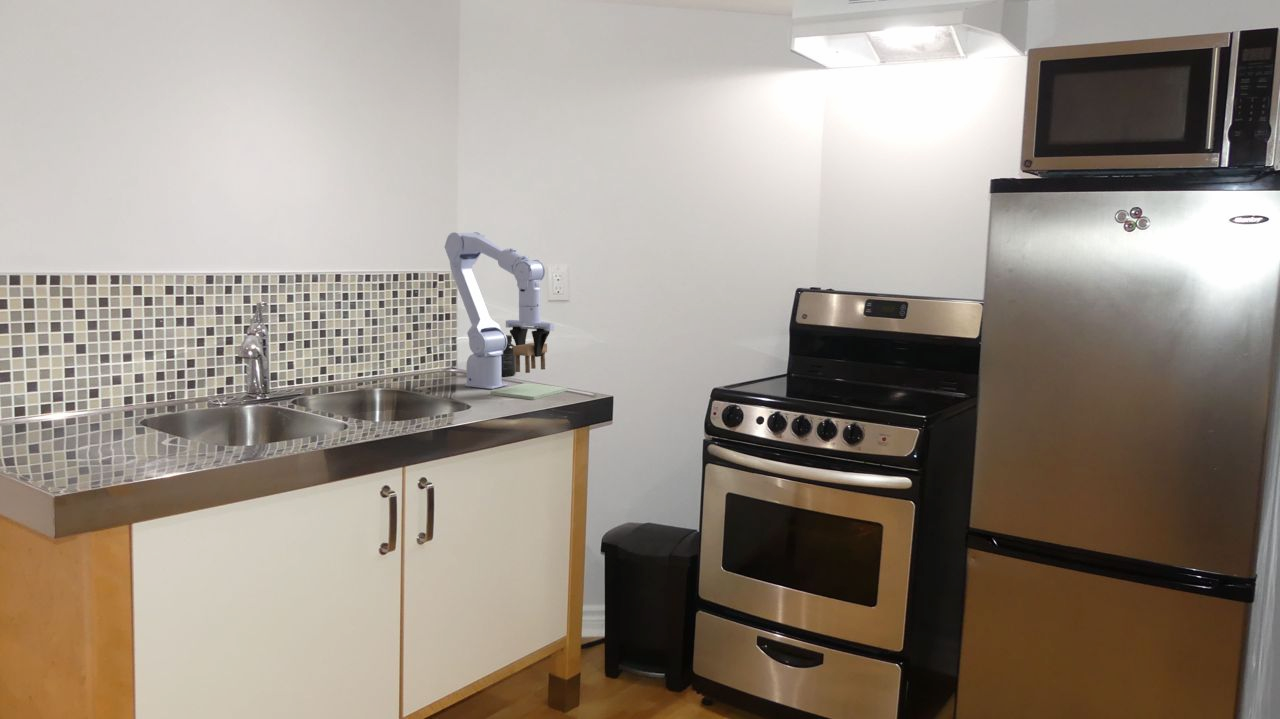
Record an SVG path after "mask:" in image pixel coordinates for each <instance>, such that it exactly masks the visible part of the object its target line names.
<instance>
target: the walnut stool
mask: <svg viewBox="0 0 1280 719" xmlns="http://www.w3.org/2000/svg"><path fill="white" fill-rule="evenodd" d="M546 353H548V343H546V342H545V343H544V346H543V350H542V354H541V356H540V370H546ZM513 355H515V362H516V373H520V372H521V357H523V356H524V361H525V362H524V363H525V364H524V366H525V369H524V370H525V373H526V374H529V373H531V369H537V368H536V365H537V364H536V357H535V354H534V342H529V343H525V344H522V345H516V344H515V345H514V346H513Z"/></svg>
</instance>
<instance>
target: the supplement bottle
mask: <svg viewBox="0 0 1280 719" xmlns="http://www.w3.org/2000/svg"><path fill="white" fill-rule="evenodd" d="M505 335H506V337H507V347H506V349H505V350H504V351H503V354H501V372H502V377H513V376H515V375H516V373H517V372H516V362H515V355H513V346H515V345H514V344H513V343H512V342H513V337H512V335H511V334H505Z"/></svg>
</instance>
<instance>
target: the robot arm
mask: <svg viewBox="0 0 1280 719" xmlns="http://www.w3.org/2000/svg"><path fill="white" fill-rule="evenodd" d="M444 249H445V253H446V256H447V257H448V260H449V266H450V270H451V274H452V275H453V278H454V282H455V284H456V287H457V290H458V292H459V295H460V298H461V299H462V300H461V301H462V302H463V304H464V305H463V306H464V308H465V310H466V313H467V316H468V319H469V321H470V324H471V326H470V328H469V329H468V330H467V333H466V334H467V337H468V344H469V349H470V351H471V352H472V354H470V355H469V356H468V358H467V361H466V383H465V384H464V386H465V387H470V388H471V387H472V388H479V389H480V388H481V389H488V390H494V389H497V388H501V387H506V386H508V385H509V383H507V382H502V381H503V380H502V377H503V376H502V372H501V354H503V351H504V350H505V349H506V347H507V337H506V335H507V334H506V333H505V332H504V331H503V330H502V328H501V325H500V324H499V323H497V322H496V321H494V320H493V319H492V318H491V316H490V314H489V312H488V309H487V308H488V307H487V305H486V304H485V300H484V298H483V296H482V293H481V290H480V287H479V285H478V282H477V280H476V277H475V275H474V272H473V269H472V268H473V266H474V265H475V264H476V262H477V261H478V259H479V258H480V257H481V255H482V254H484V255H486V257H487V256H488V257H490V258H492V259H493V260H496V261H497V263H498V266H499V267H500V268H501V269H503V270H505V271H507V272H508V273H509V274H511V275H513V276H514V278H515V280H516V283H517V284H516V287H517V289H518V319H516V320H515V319H506V320H505V328H511V329H510V330H509V333H510V335H511V336H512V340H513V341H514V343H515V346H516V345H522V344H526V340H527V335H528V331H529V330H532V331H531V335H532V339H533V343H534V354H535V358H540V357H541V354H542V350H543V346H544V343H545V344H546V341H547V339H548V336H550V332H551V331H555V323H554V322H547V321H541V281H542V280H543V279H544V277H545V273H546V270H545V269H546V268H545V266H544V264H543V263H542V262H541V261H540V260H539V259H533V260H531V259H529V256H527V255H522V254H521V253H519V252H517V249H516V248H514V247H511V248H505V249H503V248H502V247H500V246H499V245H498V244H496V243H494V242H492V241H491V240H490V239H488V238H487V237H486V235H484V234H481V233H480V232H476V231H475V232H451V233H449V235H448V236H447V238H446V241H445V244H444Z"/></svg>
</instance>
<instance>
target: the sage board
mask: <svg viewBox="0 0 1280 719" xmlns="http://www.w3.org/2000/svg"><path fill="white" fill-rule="evenodd" d="M566 391H567V392H568V388H567V387H566V386H565V387H563V386H555V385H546V384H537V383H529V382H524V383H520V384H516V385H515V384H514V385H511V386H507V387H504V388H500V389H495V390H492V391H490V395H493V396H500V397H501V396H502V397H509V398H510V397H511V398H515V399H517V398H518V399H524V400H532V401H533V400H534V401H535V400H538V399H541V398H544V397H549V396H552V395H553V396H554V395H556V394H559V393H564V392H566Z"/></svg>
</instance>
